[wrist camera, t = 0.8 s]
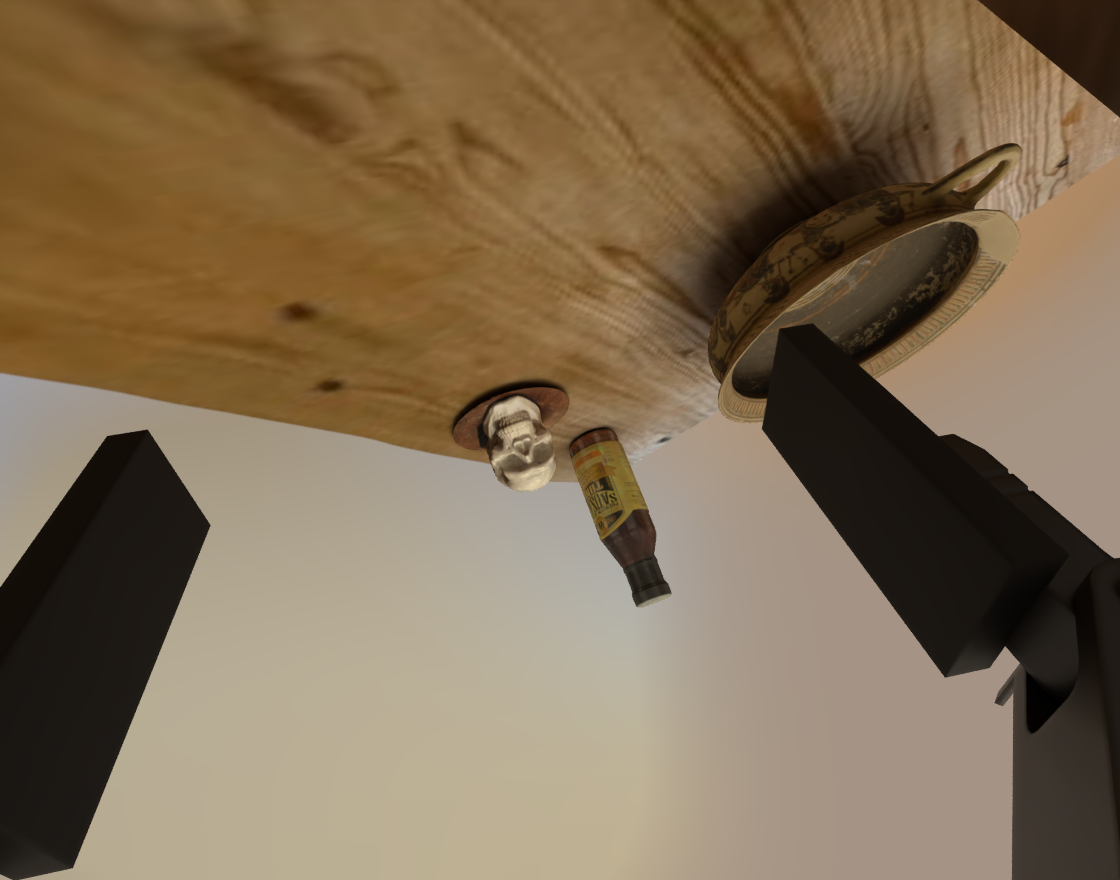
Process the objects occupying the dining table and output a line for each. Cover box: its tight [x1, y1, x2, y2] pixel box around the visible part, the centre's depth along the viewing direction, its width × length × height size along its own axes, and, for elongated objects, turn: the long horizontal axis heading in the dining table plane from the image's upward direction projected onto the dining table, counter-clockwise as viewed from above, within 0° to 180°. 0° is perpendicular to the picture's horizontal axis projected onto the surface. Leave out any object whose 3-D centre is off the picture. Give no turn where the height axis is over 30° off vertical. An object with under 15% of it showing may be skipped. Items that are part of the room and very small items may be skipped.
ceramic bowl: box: [708, 143, 1022, 423], centre depth 49 cm, size 30×24×10 cm
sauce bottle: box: [570, 429, 672, 607], centre depth 66 cm, size 7×6×20 cm
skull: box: [453, 387, 569, 492], centre depth 58 cm, size 12×10×10 cm
